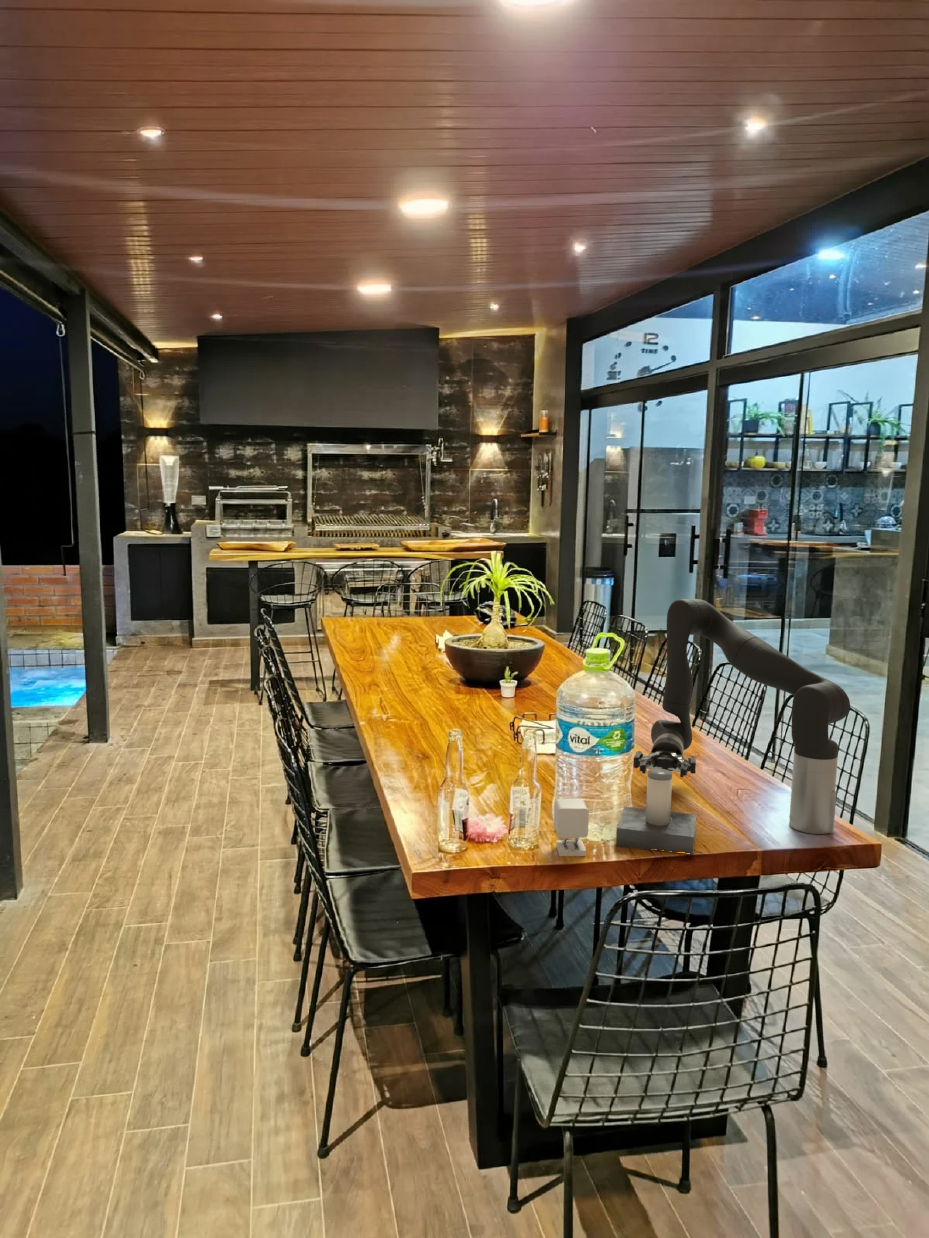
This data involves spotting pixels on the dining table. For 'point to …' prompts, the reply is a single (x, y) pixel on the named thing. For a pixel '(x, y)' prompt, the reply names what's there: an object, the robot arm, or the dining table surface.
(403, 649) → the dining table surface
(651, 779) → the canister
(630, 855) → the dining table surface
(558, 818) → the security camera
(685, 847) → the block
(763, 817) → the dining table surface
